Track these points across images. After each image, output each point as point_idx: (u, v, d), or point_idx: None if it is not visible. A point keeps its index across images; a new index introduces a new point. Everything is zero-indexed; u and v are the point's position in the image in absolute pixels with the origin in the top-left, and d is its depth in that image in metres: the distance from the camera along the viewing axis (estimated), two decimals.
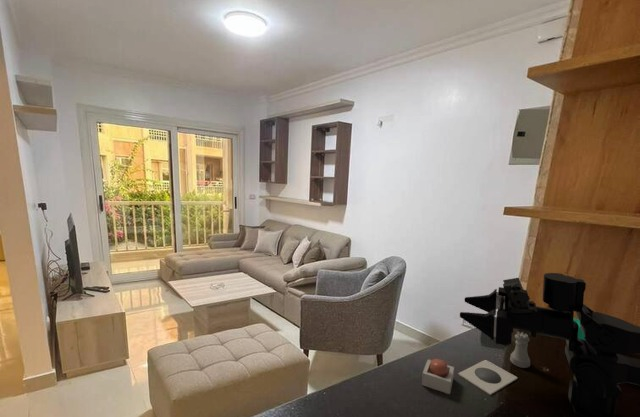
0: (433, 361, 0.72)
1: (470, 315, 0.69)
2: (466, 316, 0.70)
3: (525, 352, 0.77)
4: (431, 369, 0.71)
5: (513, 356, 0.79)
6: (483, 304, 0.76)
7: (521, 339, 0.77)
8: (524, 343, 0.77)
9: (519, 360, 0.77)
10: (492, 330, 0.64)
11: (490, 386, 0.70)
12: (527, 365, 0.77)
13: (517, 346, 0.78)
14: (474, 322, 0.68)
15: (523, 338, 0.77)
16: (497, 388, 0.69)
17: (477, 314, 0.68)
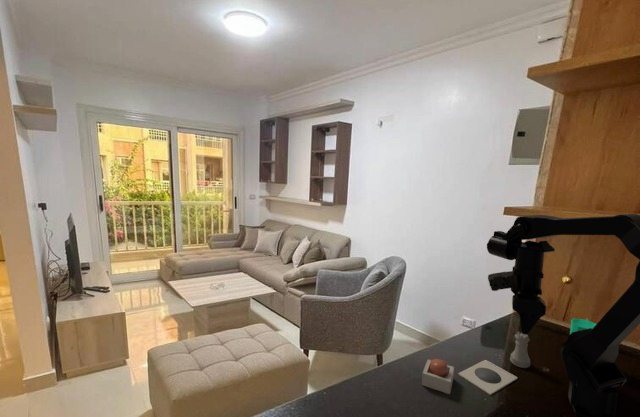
0: (433, 361, 0.72)
1: (522, 325, 0.73)
2: (525, 329, 0.73)
3: (525, 352, 0.77)
4: (431, 369, 0.71)
5: (513, 356, 0.79)
6: None
7: (521, 339, 0.77)
8: (524, 343, 0.77)
9: (519, 360, 0.77)
10: (530, 313, 0.70)
11: (490, 386, 0.70)
12: (527, 365, 0.77)
13: (517, 346, 0.78)
14: (529, 324, 0.72)
15: (523, 338, 0.77)
16: (497, 388, 0.69)
17: (520, 319, 0.73)
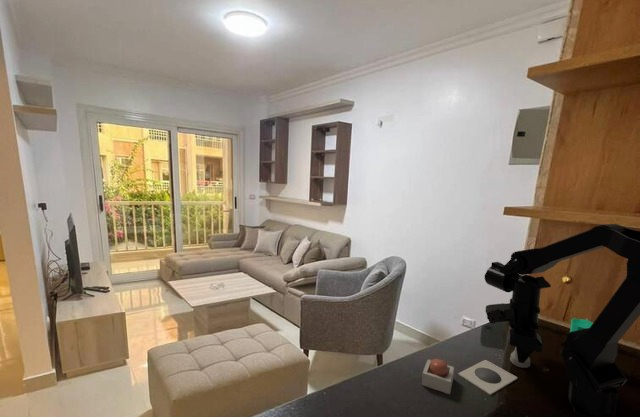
0: (433, 361, 0.72)
1: (518, 354, 0.76)
2: (521, 358, 0.76)
3: None
4: (431, 369, 0.71)
5: (513, 356, 0.79)
6: None
7: None
8: None
9: None
10: None
11: (490, 386, 0.70)
12: (527, 365, 0.77)
13: None
14: (525, 353, 0.75)
15: None
16: (497, 388, 0.69)
17: None
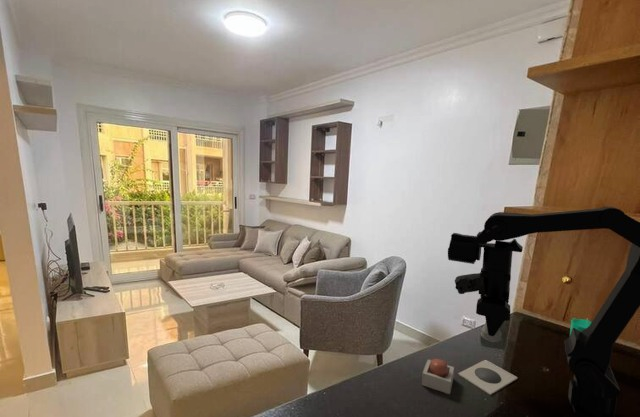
0: (433, 361, 0.72)
1: (488, 327, 0.70)
2: (491, 331, 0.70)
3: None
4: (431, 369, 0.71)
5: (483, 329, 0.73)
6: None
7: None
8: None
9: None
10: None
11: (490, 386, 0.70)
12: (498, 339, 0.71)
13: None
14: (495, 325, 0.69)
15: None
16: (497, 388, 0.69)
17: (486, 320, 0.70)
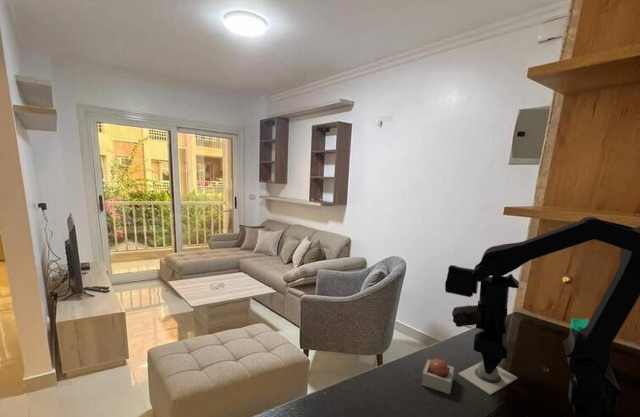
0: (433, 361, 0.72)
1: (485, 365, 0.69)
2: (488, 369, 0.69)
3: None
4: (431, 369, 0.71)
5: (480, 367, 0.73)
6: None
7: None
8: None
9: None
10: None
11: (490, 386, 0.70)
12: (495, 377, 0.72)
13: None
14: (492, 364, 0.68)
15: None
16: (497, 388, 0.69)
17: (483, 358, 0.69)
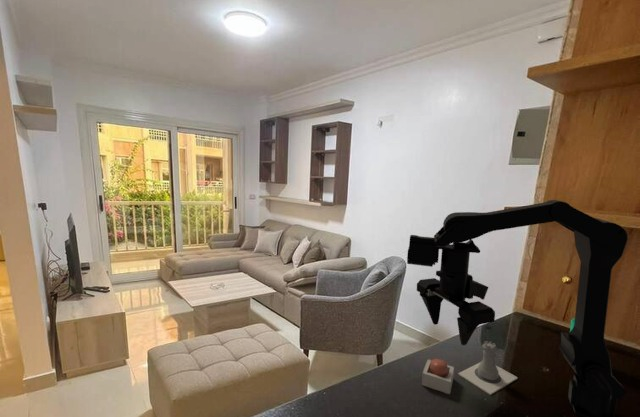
0: (433, 361, 0.72)
1: None
2: None
3: (493, 363, 0.72)
4: (431, 369, 0.71)
5: (480, 367, 0.73)
6: None
7: (488, 349, 0.72)
8: (492, 353, 0.72)
9: (486, 371, 0.72)
10: None
11: (490, 386, 0.70)
12: (495, 377, 0.72)
13: (484, 357, 0.73)
14: None
15: (490, 348, 0.72)
16: (497, 388, 0.69)
17: None
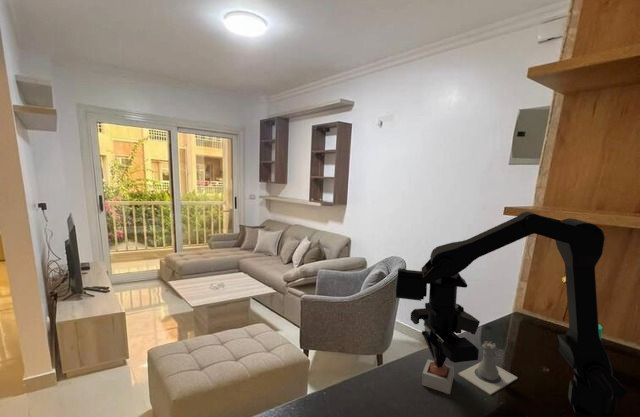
0: (433, 364, 0.72)
1: None
2: None
3: (493, 363, 0.72)
4: (431, 372, 0.71)
5: (480, 367, 0.73)
6: None
7: (488, 349, 0.72)
8: (492, 353, 0.72)
9: (486, 371, 0.72)
10: None
11: (490, 386, 0.70)
12: (495, 377, 0.72)
13: (484, 357, 0.73)
14: None
15: (490, 348, 0.72)
16: (497, 388, 0.69)
17: None
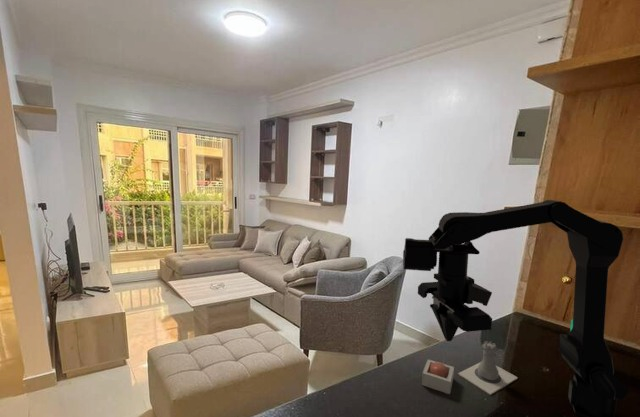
0: (433, 365, 0.72)
1: None
2: None
3: (493, 363, 0.72)
4: (431, 373, 0.71)
5: (480, 367, 0.73)
6: None
7: (488, 349, 0.72)
8: (492, 353, 0.72)
9: (486, 371, 0.72)
10: None
11: (490, 386, 0.70)
12: (495, 377, 0.72)
13: (484, 357, 0.73)
14: None
15: (490, 348, 0.72)
16: (497, 388, 0.69)
17: None
